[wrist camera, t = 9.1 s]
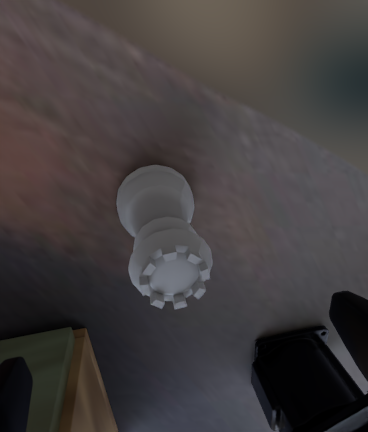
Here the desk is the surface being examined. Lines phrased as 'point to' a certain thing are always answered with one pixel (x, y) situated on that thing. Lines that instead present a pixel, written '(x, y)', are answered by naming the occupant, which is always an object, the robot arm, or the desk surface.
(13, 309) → the desk surface
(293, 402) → the robot arm
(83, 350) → the drawer unit
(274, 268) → the desk surface
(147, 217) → the rook chess piece
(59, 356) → the drawer
